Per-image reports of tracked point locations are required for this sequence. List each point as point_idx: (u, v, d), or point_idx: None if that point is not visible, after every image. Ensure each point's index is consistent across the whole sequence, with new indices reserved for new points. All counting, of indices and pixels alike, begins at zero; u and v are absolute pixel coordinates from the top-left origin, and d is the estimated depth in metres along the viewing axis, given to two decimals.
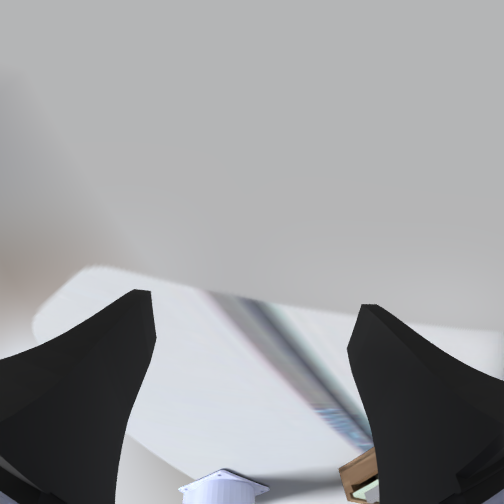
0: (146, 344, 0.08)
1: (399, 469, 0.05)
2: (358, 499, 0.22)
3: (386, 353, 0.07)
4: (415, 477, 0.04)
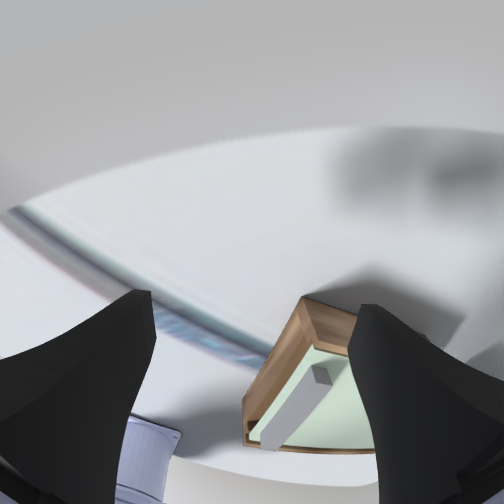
0: (146, 344, 0.08)
1: (399, 469, 0.05)
2: None
3: (386, 353, 0.07)
4: (415, 476, 0.04)
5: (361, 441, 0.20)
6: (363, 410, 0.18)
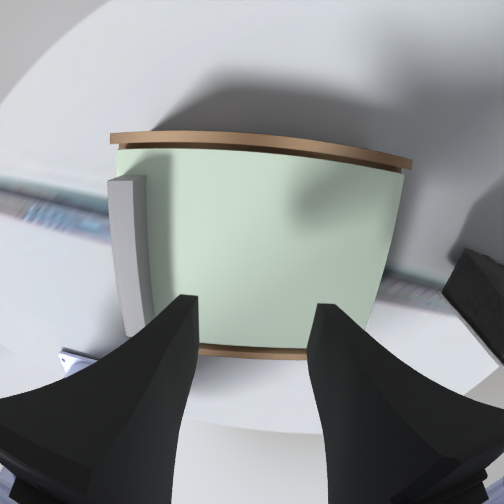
0: (194, 350, 0.08)
1: (343, 481, 0.05)
2: None
3: (335, 356, 0.07)
4: (356, 493, 0.04)
5: None
6: (265, 255, 0.13)
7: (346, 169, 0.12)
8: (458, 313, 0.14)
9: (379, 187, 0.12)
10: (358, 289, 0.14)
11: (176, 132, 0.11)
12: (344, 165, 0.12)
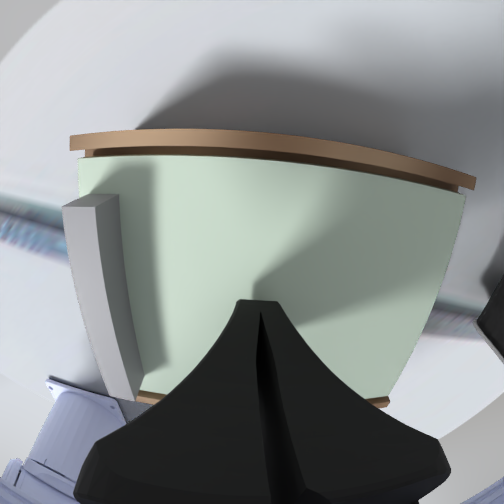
0: None
1: None
2: (150, 395, 0.12)
3: (264, 355, 0.07)
4: None
5: None
6: (288, 304, 0.10)
7: (401, 188, 0.08)
8: (497, 351, 0.11)
9: (438, 212, 0.08)
10: (398, 337, 0.11)
11: (159, 131, 0.07)
12: (399, 183, 0.08)
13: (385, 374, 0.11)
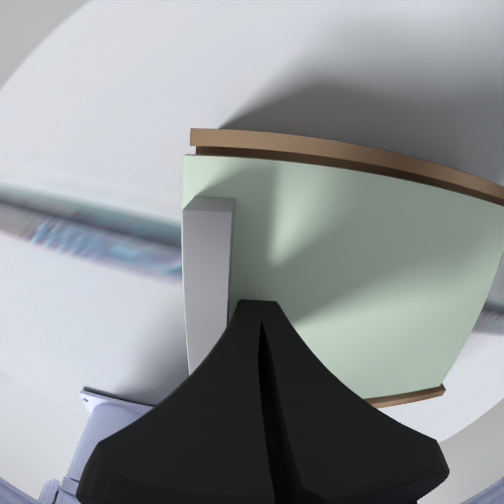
0: None
1: None
2: None
3: (262, 355, 0.07)
4: None
5: (408, 378, 0.12)
6: (383, 306, 0.10)
7: (474, 204, 0.08)
8: None
9: (495, 224, 0.09)
10: (457, 331, 0.11)
11: (306, 139, 0.07)
12: (473, 200, 0.08)
13: (441, 365, 0.12)
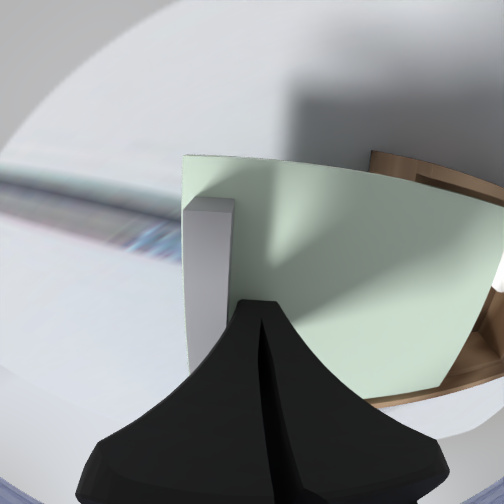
0: None
1: None
2: (382, 399, 0.12)
3: (262, 355, 0.07)
4: None
5: (407, 378, 0.12)
6: (382, 306, 0.10)
7: (473, 205, 0.08)
8: None
9: (495, 225, 0.09)
10: (456, 332, 0.11)
11: (490, 184, 0.08)
12: (473, 200, 0.08)
13: (441, 366, 0.12)
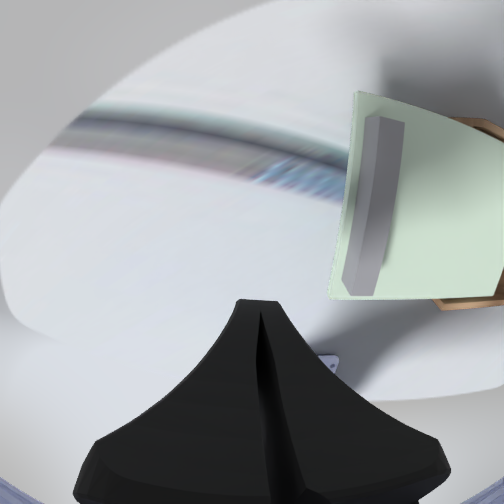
0: None
1: None
2: (460, 301, 0.15)
3: (264, 355, 0.07)
4: None
5: (475, 281, 0.14)
6: (462, 209, 0.12)
7: None
8: None
9: None
10: (502, 242, 0.13)
11: None
12: (503, 144, 0.11)
13: (494, 273, 0.14)
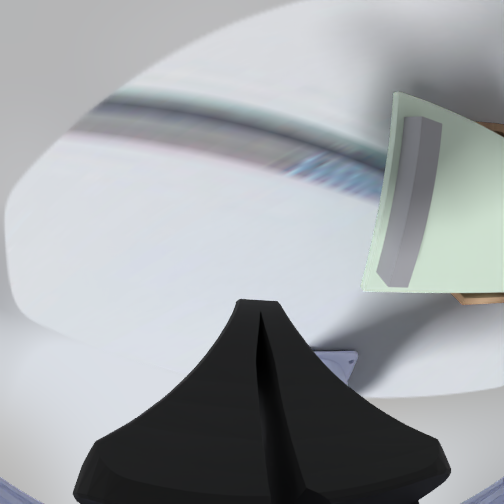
0: None
1: None
2: (478, 296, 0.15)
3: (264, 355, 0.07)
4: None
5: (491, 277, 0.14)
6: (484, 207, 0.12)
7: None
8: None
9: None
10: None
11: None
12: None
13: None
